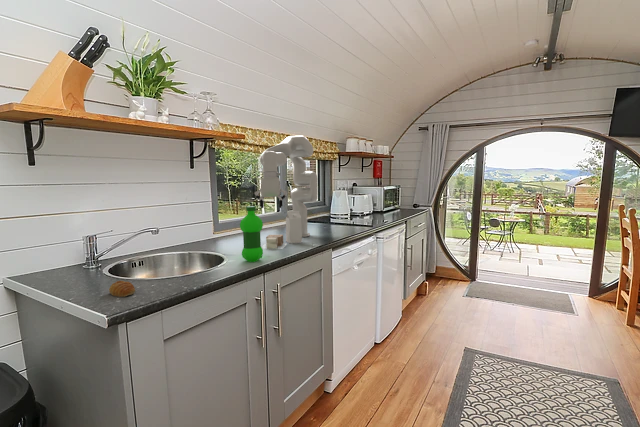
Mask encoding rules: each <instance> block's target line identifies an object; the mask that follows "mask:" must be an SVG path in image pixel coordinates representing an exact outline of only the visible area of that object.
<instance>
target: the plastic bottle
mask: <svg viewBox="0 0 640 427" xmlns="http://www.w3.org/2000/svg"><path fill="white" fill-rule="evenodd" d="M256 209H257V208H256V206H255V205H254V206H252V205H251V206H245V210H246V211H247V214H246V215H245V216H244V217H243V218H242V219H241V220H240V223H239V228H240V230H241V232H242V238H243V248H242V250H241V256H242V258H243V259H244V260H245V261H247V262H250V263H254V262H258V261H259V260H260V259H262V257H263V255H264V249H262V243H261V241H262V240H261V231H262V230H263V227H264V226H263V225H264V224H263V220H262V219H261V218H260V217H259V216H258V215H257V214H255V211H256Z"/></svg>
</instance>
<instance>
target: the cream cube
mask: <svg viewBox="0 0 640 427" xmlns="http://www.w3.org/2000/svg"><path fill="white" fill-rule="evenodd" d="M265 241H266V243H267V248H277V247H278V238H267V239H266V238H265Z"/></svg>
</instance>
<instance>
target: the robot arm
mask: <svg viewBox="0 0 640 427" xmlns="http://www.w3.org/2000/svg"><path fill="white" fill-rule="evenodd" d="M313 154H314V147H313V145H312V143H311V142H310V140H309V139H308V138H307V137H306V136H304V135H290V136H287V137H286V138H284V139H283V140H282V141H281V142H280V143H279V144H276V145H274V146H270V147H268V148H266V149H265V150H264V151H262V153H261V155H260V158H259V161H260V164H261V166H262V178H261V181H260V182H261V184H260V185H261V186H260V189H258V190H257V191H254V195H255V198H257V200H259V207H260V209H263V208H264V207H265V206H264V198H275V197H276V198H278V199H279V200H278V208H279V209H282V207H283V200H284V199H285V198H286V196H287V194H288V191H287V190H284V189H283V188H282V187H281V180H280V177H279V176H281V172H279V171H278V167H283V166H285V165H286V164H287V161H288V158H287V157H289V159H290V161H291V163H292V180H293V181H292V182H293V184H294V185H295V186H298V187H295V188H293V189H292V190H291V192H290V198H291V199H290V200H291V203H292V204H291V206H292V211H299V214H300V216H301V225H302V238H305V237H309V236H311V234H310V233H309V232H308V231H309V230H308V208H307V206H306V205H305V204H304V203H310V204H311V203H316V202H317V201H318V185H319V184H318V175H317V172H316V171H312V170H307V163H306V161H305V160H304V158H310V157H312V155H313ZM282 193H283V195H282ZM259 194H260V195H259Z"/></svg>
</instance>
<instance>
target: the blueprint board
mask: <svg viewBox="0 0 640 427" xmlns="http://www.w3.org/2000/svg"><path fill="white" fill-rule="evenodd" d="M288 244H289V243H288V242H287V243H286V242H283V244H282V245H281V246H278V247H277V248H267V246H266V243H264V244H262V245H261V247H262V249H263V250H278V249H279V250H284V249H285V247H286V246H287V245H288Z"/></svg>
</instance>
